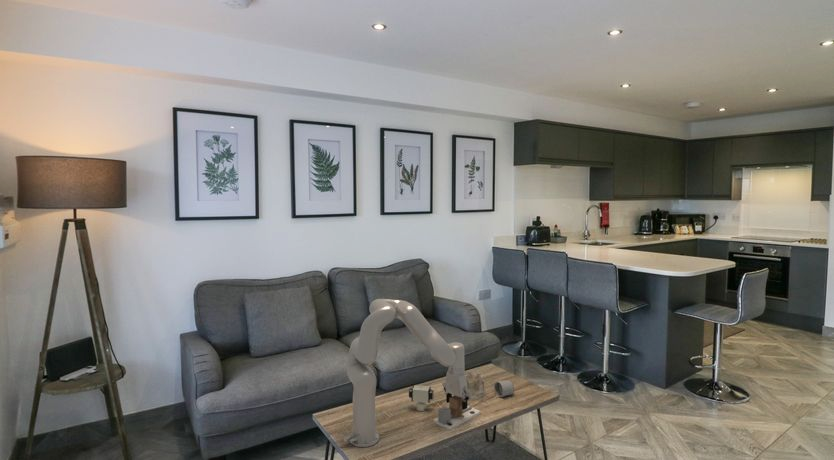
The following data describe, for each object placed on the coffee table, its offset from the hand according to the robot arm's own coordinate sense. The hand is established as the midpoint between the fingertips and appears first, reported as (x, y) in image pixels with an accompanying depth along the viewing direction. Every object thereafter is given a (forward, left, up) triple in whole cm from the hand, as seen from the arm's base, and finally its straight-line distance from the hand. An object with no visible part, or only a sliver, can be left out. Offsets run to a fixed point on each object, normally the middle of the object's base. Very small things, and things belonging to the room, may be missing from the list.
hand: (456, 405), depth 212 cm
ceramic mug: (+37, +1, -7) cm, 37 cm away
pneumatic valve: (-5, +18, -7) cm, 20 cm away
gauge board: (+1, 0, -6) cm, 6 cm away
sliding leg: (0, -1, -4) cm, 4 cm away
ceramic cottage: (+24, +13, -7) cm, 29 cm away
